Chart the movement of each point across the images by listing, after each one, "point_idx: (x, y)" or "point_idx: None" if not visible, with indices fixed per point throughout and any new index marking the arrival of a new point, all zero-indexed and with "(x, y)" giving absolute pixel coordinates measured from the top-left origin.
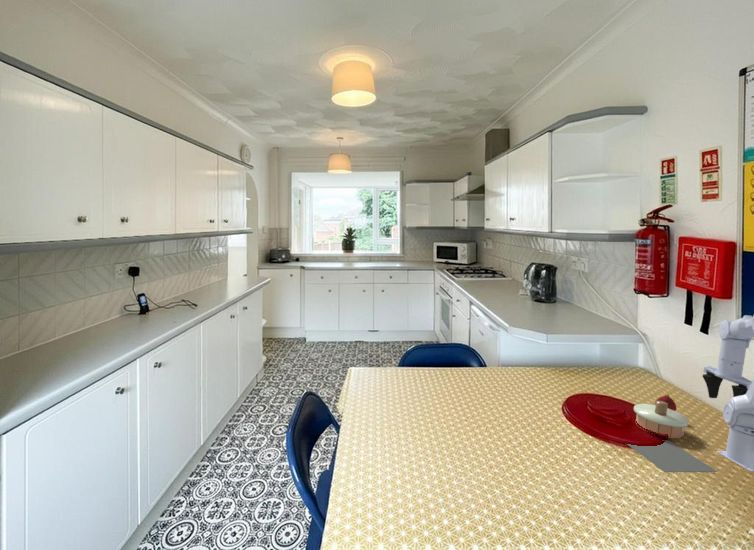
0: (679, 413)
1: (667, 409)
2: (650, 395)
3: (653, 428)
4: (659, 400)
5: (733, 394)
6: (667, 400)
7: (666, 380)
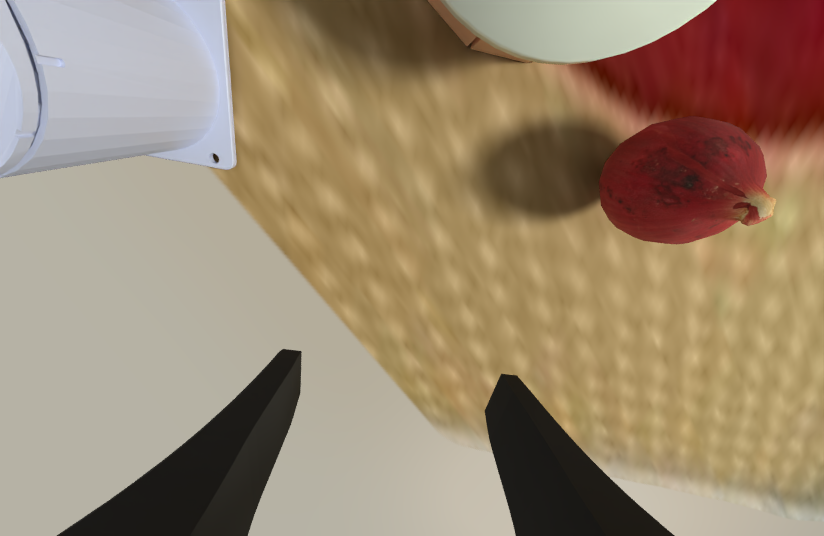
0: (543, 47)
1: (637, 10)
2: (750, 338)
3: None
4: (745, 135)
5: (223, 476)
6: (706, 164)
7: (741, 493)
